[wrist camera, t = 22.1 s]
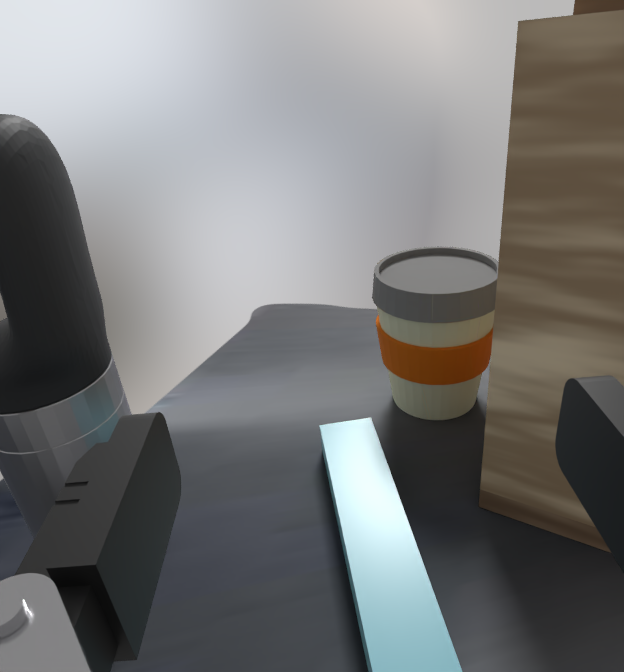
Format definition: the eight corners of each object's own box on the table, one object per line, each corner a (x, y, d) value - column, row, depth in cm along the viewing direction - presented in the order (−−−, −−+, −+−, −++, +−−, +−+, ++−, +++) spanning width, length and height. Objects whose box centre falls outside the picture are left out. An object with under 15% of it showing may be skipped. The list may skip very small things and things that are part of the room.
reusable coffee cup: (452, 355, 65) (456, 238, 58) (519, 410, 55) (535, 276, 48) (358, 381, 62) (351, 260, 55) (410, 445, 52) (409, 307, 44)
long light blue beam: (470, 726, 30) (431, 462, 30) (384, 743, 30) (345, 475, 30) (389, 566, 52) (368, 415, 53) (339, 574, 52) (318, 422, 52)
